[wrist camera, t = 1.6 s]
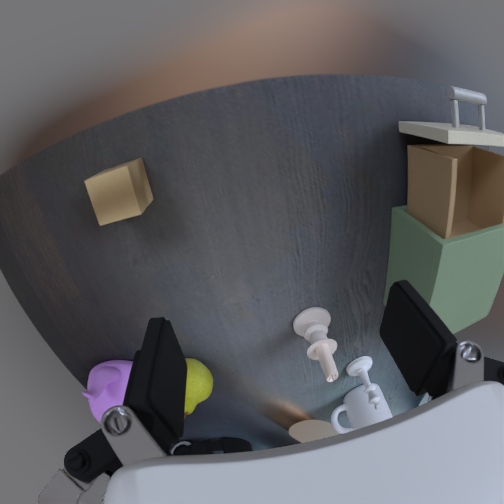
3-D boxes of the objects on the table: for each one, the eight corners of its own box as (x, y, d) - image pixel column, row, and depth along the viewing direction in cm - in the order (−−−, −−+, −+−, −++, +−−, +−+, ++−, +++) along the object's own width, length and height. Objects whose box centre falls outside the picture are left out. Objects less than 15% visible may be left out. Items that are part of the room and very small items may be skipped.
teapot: (141, 332, 34) (123, 398, 24) (185, 404, 44) (182, 456, 34) (70, 336, 34) (45, 390, 24) (123, 404, 44) (115, 451, 34)
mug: (323, 411, 50) (334, 450, 41) (327, 392, 46) (341, 436, 37) (373, 397, 50) (388, 433, 41) (382, 377, 46) (401, 416, 37)
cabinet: (391, 207, 29) (443, 245, 20) (468, 195, 29) (516, 223, 20) (382, 303, 36) (414, 351, 27) (453, 280, 36) (487, 315, 27)
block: (103, 170, 24) (84, 180, 20) (142, 157, 24) (126, 165, 20) (116, 209, 26) (99, 226, 22) (153, 199, 26) (141, 214, 22)
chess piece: (372, 352, 41) (395, 397, 32) (370, 368, 44) (389, 410, 35) (346, 361, 41) (366, 408, 33) (345, 376, 44) (362, 421, 35)
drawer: (393, 82, 21) (443, 80, 14) (471, 94, 21) (516, 101, 14) (398, 235, 30) (435, 269, 23) (467, 219, 29) (504, 244, 23)
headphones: (162, 465, 44) (248, 454, 46) (161, 437, 51) (241, 425, 53) (189, 481, 53) (260, 470, 55) (187, 458, 59) (254, 447, 61)
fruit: (213, 349, 37) (213, 423, 26) (212, 377, 40) (213, 443, 29) (165, 346, 36) (154, 418, 25) (169, 373, 39) (162, 439, 28)
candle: (308, 301, 34) (332, 363, 25) (337, 313, 36) (364, 371, 26) (285, 328, 36) (301, 391, 27) (314, 338, 37) (334, 396, 28)
